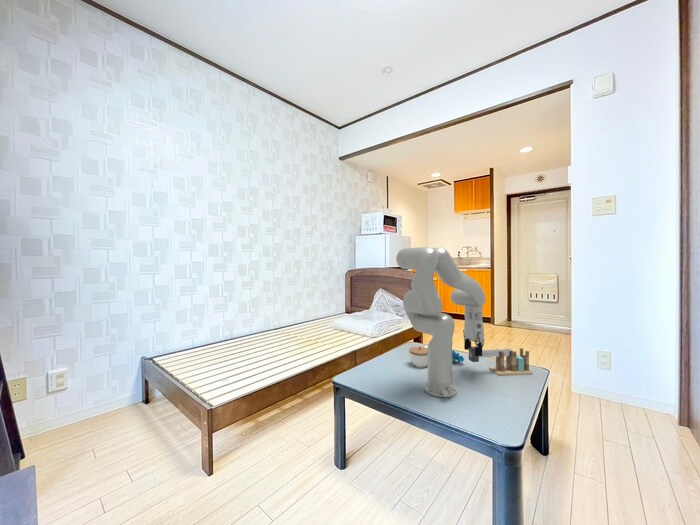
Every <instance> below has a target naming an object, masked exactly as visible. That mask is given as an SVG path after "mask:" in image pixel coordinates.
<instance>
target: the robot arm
mask: <svg viewBox="0 0 700 525" xmlns="http://www.w3.org/2000/svg"><path fill="white" fill-rule="evenodd" d="M395 257H396V258H395V259H396V264H397V266H398V267H399V268H401V269H402V270H416V271H415V273H414V275H413V276H412V280H411V283H410V285H411V286H410V288H411V289H409V290H408V291H406V292H405V294H404V296H403V298H402V305H403V309H404V310H403V311H404V312H405V314H406V315H407V318H408V320H409V323H410V324H411V326H412V328H413V329H414V330H415V331H416V332H419V333H422V334H426V335H430V336H432V338H430V341H429V342H428V343H427V347H426V348H427V349H428V365H427V382H426V383H424V385H423V389H424V391H425V393H427V394H428V395H430V396H433V397H437V398H451V397H454V396H456V395H457V392H458V391H457V387H456V386H454V385H453V362H452V350H453V337H454V332H455V320H454V318H453V317H452V316H451V315H449V314H447V313H445V312H442V311H443V302H442V299H441V296H440V294H439V292H438V290H437V288H436V284H435V282H434V276H435V273H436V274H437V276H438V277H439V279H440V280H441V282H442V283H443V284H445V285H446V286H449V287H451V288H454V290H453V291H452V292H451V293H450V300H451V301H452V303H453V304H454V305H457V306H464V324H463V325H464V327H463V330H462V332H463V341H464V342H463V344H464V346H463V347H464V350H467V351H469V347H472V342H474V345H475V356H482V350H483V347H484V345H485V330H484V328H485V327H484V322H483V306H484V305H485V303H486V295H485V291H484V290H483V288H482V286H481V284H480V283H478V281H476V280H475V279H474V278H473V277H471V276H469V275H467V274H466V273H464V272H462V271H461V270H460V268H459V267H458V265H457V264H456V262H455V261H454V259H453V257H452V256H451V254H450V252H449V251H448V250H447V249H445V248H443V247H428V246H427V247H426V246H424V247H423V246H421V247H404V248H401V249H400V250H399V251H398V252H397V254H396V256H395Z"/></svg>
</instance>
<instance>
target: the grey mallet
mask: <svg viewBox="0 0 700 525" xmlns="http://www.w3.org/2000/svg"><path fill="white" fill-rule="evenodd" d="M475 347H476V345H475V346H471V347H469V350H468V360H469V361H470V362H472V363H478V362H479V361H480V358H496V357H501V352H504V357H506V356H511V352H513V351H514V350H512V349H511V348H505V349H504V348H503V349H499V350H496V349H482V356H475Z"/></svg>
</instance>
